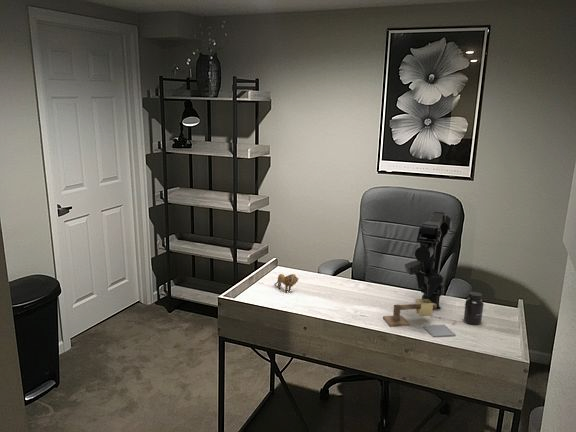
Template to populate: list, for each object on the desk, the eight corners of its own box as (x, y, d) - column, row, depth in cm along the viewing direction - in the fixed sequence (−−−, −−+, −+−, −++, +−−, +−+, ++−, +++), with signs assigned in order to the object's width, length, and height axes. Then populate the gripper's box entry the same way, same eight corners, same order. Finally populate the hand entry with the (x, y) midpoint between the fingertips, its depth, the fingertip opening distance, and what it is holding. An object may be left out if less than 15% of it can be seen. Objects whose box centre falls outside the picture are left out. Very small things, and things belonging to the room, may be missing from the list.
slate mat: (444, 325, 189) (444, 324, 189) (455, 336, 181) (455, 334, 181) (423, 326, 188) (423, 325, 188) (433, 337, 179) (433, 335, 179)
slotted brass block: (426, 311, 196) (428, 298, 195) (431, 315, 191) (433, 303, 190) (415, 311, 195) (416, 299, 194) (420, 316, 190) (421, 303, 189)
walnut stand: (430, 316, 198) (431, 300, 197) (439, 324, 191) (440, 308, 189) (382, 318, 195) (384, 302, 194) (390, 326, 187) (391, 310, 186)
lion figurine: (299, 292, 221) (300, 274, 219) (291, 295, 218) (292, 276, 216) (278, 284, 231) (278, 266, 230) (269, 286, 228) (270, 268, 226)
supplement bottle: (479, 326, 189) (482, 298, 187) (461, 322, 193) (464, 294, 190) (482, 320, 195) (486, 293, 193) (465, 316, 199) (468, 289, 196)
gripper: (399, 249, 196) (396, 285, 199) (417, 262, 178) (414, 302, 181) (425, 248, 198) (421, 284, 201) (445, 262, 180) (442, 301, 183)
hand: (424, 292), depth 191 cm, fingers open, 9 cm apart
